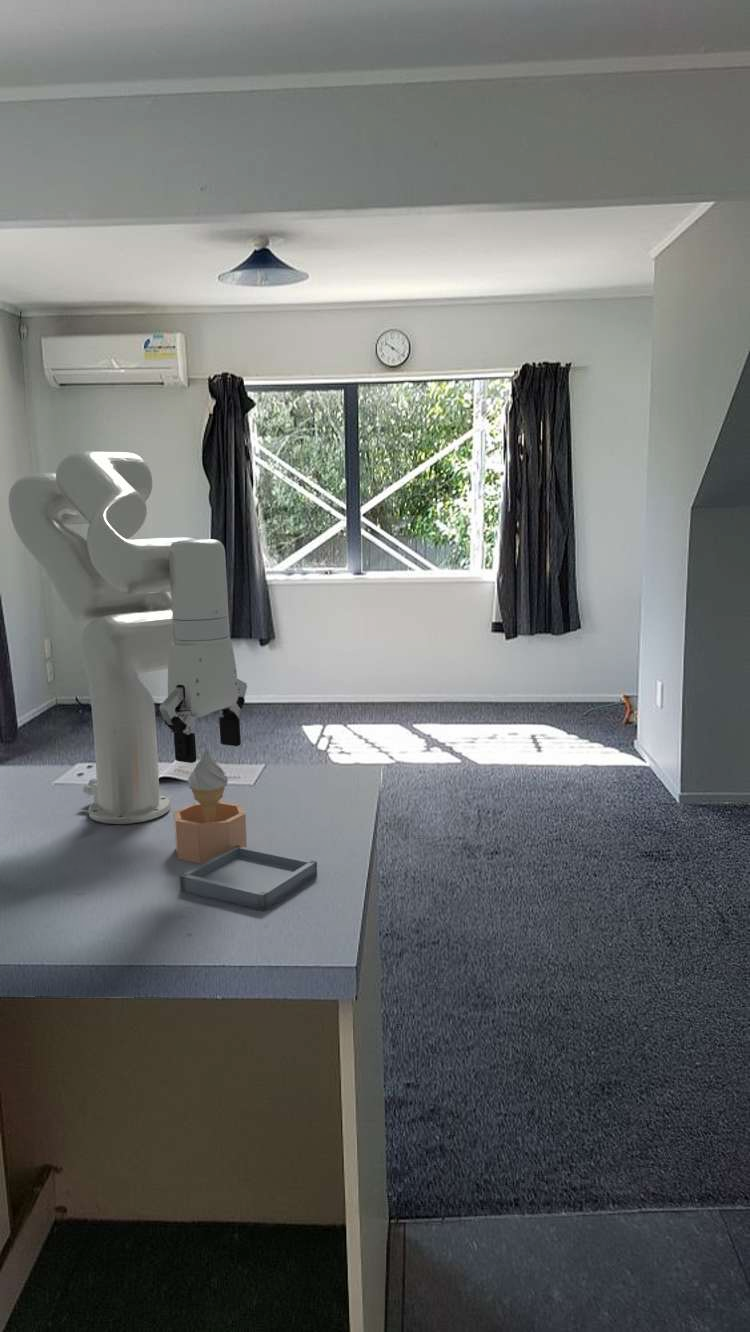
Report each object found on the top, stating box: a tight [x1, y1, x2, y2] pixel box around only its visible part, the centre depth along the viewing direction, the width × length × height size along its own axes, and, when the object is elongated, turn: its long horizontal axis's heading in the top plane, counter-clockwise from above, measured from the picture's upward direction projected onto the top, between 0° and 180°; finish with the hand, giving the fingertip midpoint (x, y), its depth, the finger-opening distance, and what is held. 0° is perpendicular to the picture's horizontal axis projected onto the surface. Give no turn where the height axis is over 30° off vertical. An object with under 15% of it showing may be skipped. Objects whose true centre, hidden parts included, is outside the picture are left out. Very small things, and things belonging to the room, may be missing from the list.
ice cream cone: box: [186, 747, 229, 823], centre depth 134 cm, size 6×6×15 cm
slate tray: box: [179, 845, 318, 912], centre depth 124 cm, size 13×12×2 cm
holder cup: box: [173, 800, 248, 865], centre depth 135 cm, size 10×10×6 cm
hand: (209, 752), depth 133 cm, fingers open, 9 cm apart
